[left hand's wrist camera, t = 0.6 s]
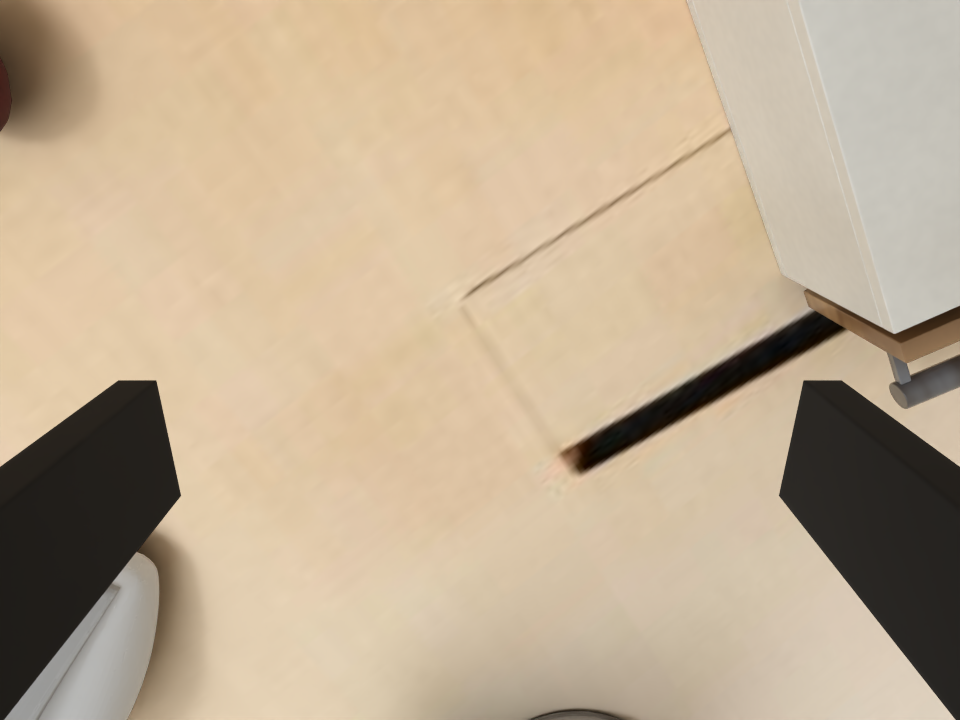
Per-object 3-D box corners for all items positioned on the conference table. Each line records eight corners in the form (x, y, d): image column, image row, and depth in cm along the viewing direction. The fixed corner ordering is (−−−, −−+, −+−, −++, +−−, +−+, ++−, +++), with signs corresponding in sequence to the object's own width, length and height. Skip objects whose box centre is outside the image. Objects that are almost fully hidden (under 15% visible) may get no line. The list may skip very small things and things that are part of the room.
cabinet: (936, 202, 37) (1118, 236, 27) (781, 275, 39) (894, 334, 28) (844, -183, 30) (1040, -343, 20) (660, -74, 32) (750, -168, 21)
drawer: (964, 322, 39) (1106, 382, 30) (832, 379, 41) (931, 452, 32) (861, -105, 31) (1017, -194, 22) (700, -14, 32) (784, -63, 23)
